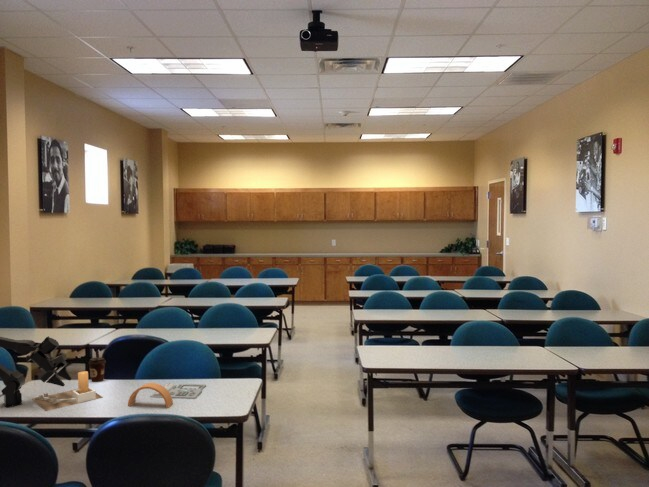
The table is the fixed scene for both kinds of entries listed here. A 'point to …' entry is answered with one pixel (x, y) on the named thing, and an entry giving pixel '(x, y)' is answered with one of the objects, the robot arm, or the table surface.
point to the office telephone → (182, 391)
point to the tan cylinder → (83, 382)
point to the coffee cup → (97, 369)
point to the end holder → (84, 395)
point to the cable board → (57, 400)
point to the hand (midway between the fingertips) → (67, 382)
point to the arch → (156, 387)
